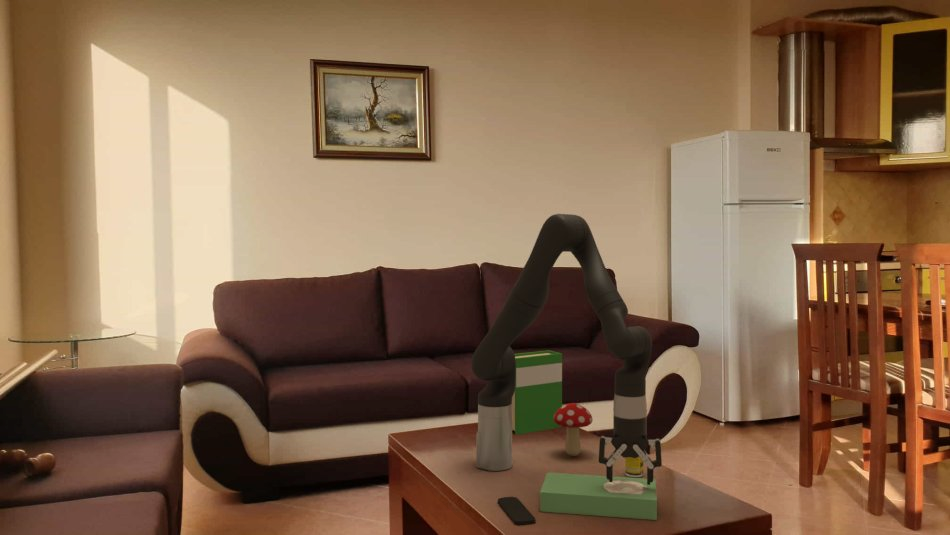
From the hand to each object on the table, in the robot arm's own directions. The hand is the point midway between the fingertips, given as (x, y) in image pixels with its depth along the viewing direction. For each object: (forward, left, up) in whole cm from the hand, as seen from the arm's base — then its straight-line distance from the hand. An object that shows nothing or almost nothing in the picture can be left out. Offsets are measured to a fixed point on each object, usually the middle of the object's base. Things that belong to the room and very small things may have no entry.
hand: (629, 482), depth 175 cm
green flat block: (-7, 0, -6) cm, 9 cm away
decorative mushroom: (-16, +36, -6) cm, 40 cm away
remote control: (-25, -8, -7) cm, 28 cm away
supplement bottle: (+1, +23, -6) cm, 24 cm away
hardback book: (-31, +63, -6) cm, 71 cm away
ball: (-1, 0, -4) cm, 4 cm away
